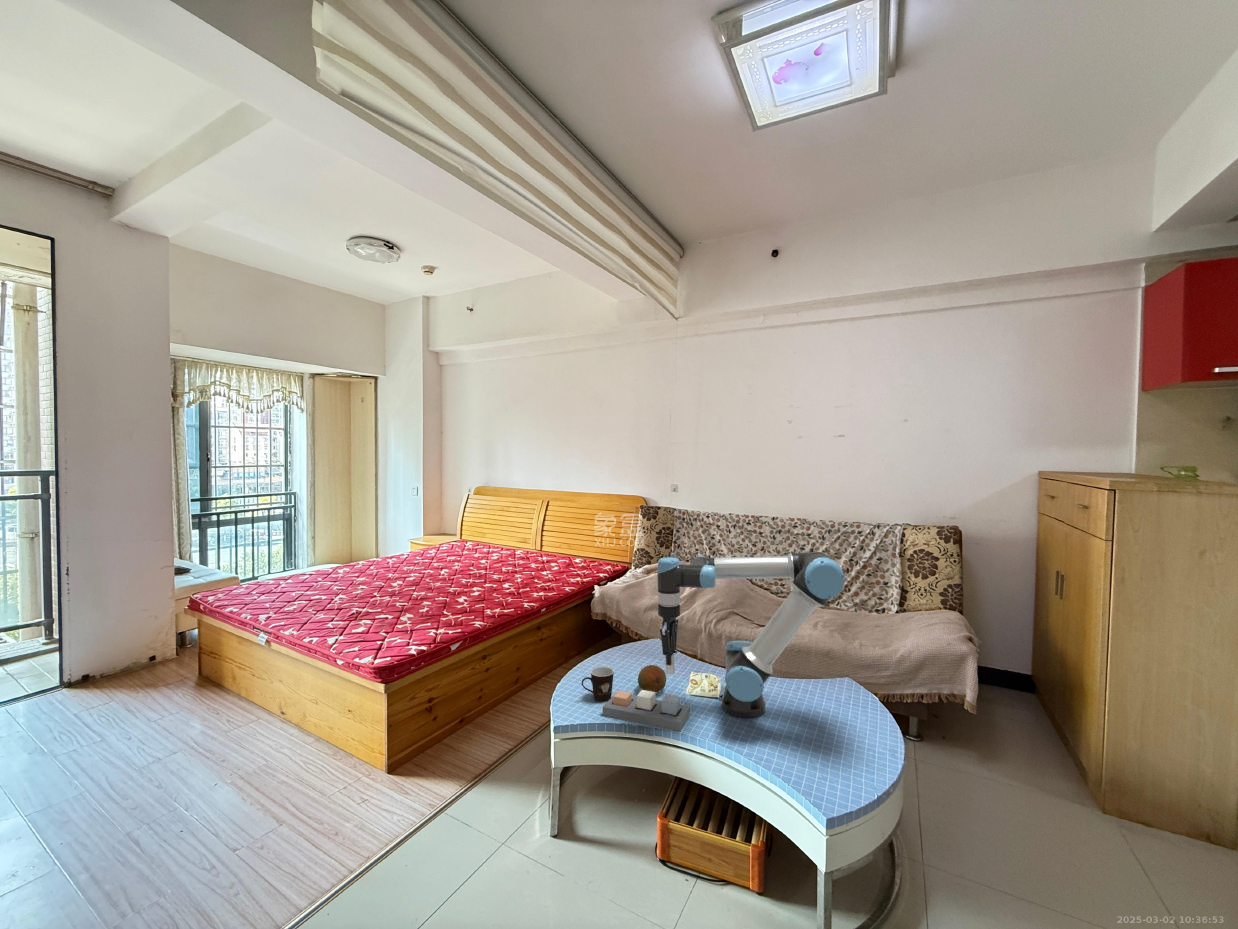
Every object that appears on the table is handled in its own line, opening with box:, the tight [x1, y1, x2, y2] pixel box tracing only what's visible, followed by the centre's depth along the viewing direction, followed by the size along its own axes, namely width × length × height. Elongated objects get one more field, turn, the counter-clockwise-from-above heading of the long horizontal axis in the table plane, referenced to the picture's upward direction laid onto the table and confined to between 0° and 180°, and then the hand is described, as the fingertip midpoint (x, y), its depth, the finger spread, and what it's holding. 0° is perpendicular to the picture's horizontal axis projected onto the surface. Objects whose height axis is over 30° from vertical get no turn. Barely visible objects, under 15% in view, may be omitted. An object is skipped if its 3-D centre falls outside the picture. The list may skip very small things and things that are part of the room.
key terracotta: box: [612, 690, 633, 707], centre depth 178 cm, size 5×5×4 cm
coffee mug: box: [581, 666, 615, 703], centre depth 188 cm, size 12×9×10 cm
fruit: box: [637, 664, 667, 694], centre depth 193 cm, size 12×13×10 cm
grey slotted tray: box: [602, 691, 691, 732], centre depth 175 cm, size 28×12×3 cm, turn 66°
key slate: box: [661, 693, 681, 715], centre depth 171 cm, size 5×5×4 cm
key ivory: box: [636, 689, 657, 711], centre depth 175 cm, size 5×5×4 cm
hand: (670, 673), depth 171 cm, fingers closed
